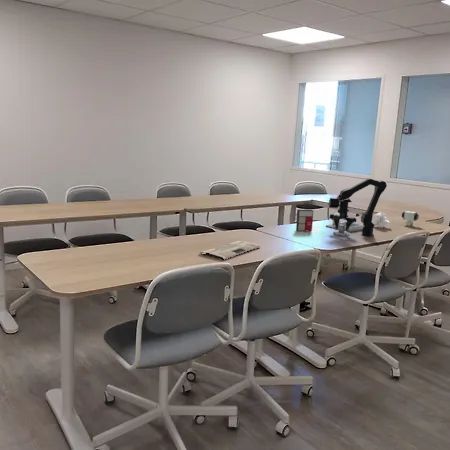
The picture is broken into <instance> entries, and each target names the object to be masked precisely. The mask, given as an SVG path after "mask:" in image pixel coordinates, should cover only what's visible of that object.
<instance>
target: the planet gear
mask: <svg viewBox="0 0 450 450" xmlns="http://www.w3.org/2000/svg"><path fill="white" fill-rule="evenodd" d="M332 235H335V236H340V237H344V236H345V237H349V236H350V232H347V231H345V225H339V230H334V231H333V233H332Z"/></svg>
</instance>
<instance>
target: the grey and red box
mask: <svg viewBox="0 0 450 450" xmlns="http://www.w3.org/2000/svg"><path fill="white" fill-rule="evenodd" d="M313 221H314V210H313V209H297V211H296V228H295V230H296V231H297V232H312V231H313Z"/></svg>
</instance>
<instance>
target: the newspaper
mask: <svg viewBox="0 0 450 450" xmlns="http://www.w3.org/2000/svg"><path fill="white" fill-rule="evenodd" d="M256 248H258V249H260V248H261V245H260V244H257V243H254V242H253V243H252V242H249V241H243V240H236V241H233V242H230V243H227V244H224V245H221V246H217V247H213V248H211V249H207V250H204V251H200V252H199V253H200V254H202V253H209V254H210V255H213V256H217V257H220V258H224V261H226V260H228V259H227V258H229V259H231V258H230V257H232V258H234V257H233V256H235V257H237V256H236V255H238V256H240V255H239V254H241V253H244V252H247V251H249V252H251V251H250V250H252V251H254V250H253V249H255V250H257V249H256ZM247 253H248V252H247ZM209 254H208V255H209ZM244 254H245V253H244ZM241 255H242V254H241ZM225 259H226V260H225Z"/></svg>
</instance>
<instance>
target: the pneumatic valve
mask: <svg viewBox="0 0 450 450" xmlns="http://www.w3.org/2000/svg"><path fill="white" fill-rule="evenodd" d="M419 217H420V216H419V214H418V212H417V211H412V210H409V211H408V210H405V211H403V212H402V213H401V218H402V220H406V221H405V226H407V227H412V226H414V222H415V221H417V220H419Z"/></svg>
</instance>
